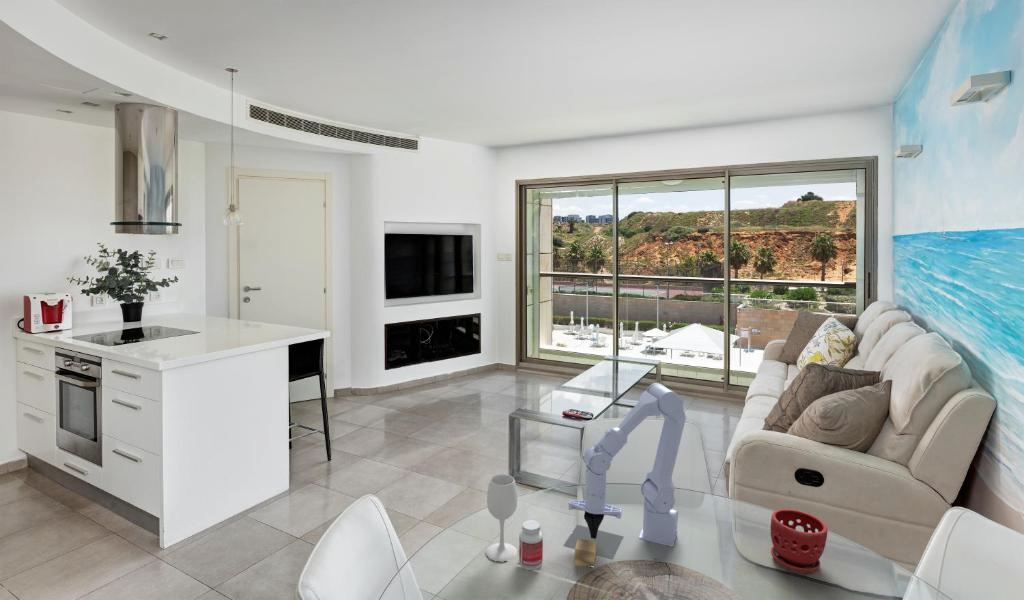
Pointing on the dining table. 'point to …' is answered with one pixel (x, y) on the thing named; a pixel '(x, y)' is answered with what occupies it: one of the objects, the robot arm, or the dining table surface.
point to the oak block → (585, 553)
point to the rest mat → (604, 541)
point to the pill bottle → (530, 545)
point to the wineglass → (501, 513)
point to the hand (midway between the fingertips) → (593, 536)
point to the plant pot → (797, 540)
